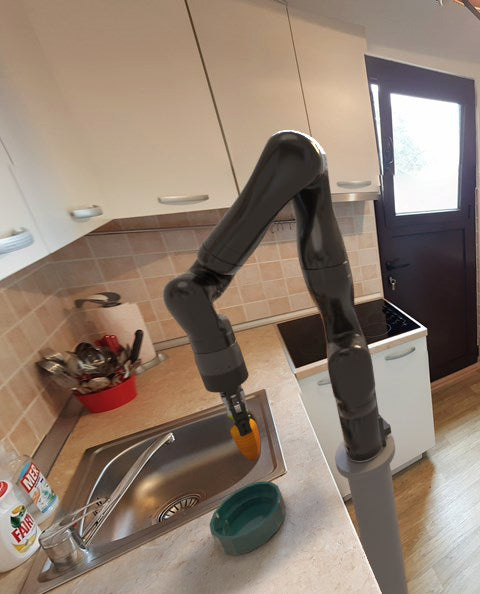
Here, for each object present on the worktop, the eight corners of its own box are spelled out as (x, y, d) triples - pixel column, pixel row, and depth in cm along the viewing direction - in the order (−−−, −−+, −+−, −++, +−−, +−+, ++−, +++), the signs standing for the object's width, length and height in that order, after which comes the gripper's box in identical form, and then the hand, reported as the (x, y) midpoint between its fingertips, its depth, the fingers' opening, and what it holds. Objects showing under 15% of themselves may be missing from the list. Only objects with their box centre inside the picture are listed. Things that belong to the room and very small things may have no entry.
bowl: (277, 488, 78) (272, 471, 76) (293, 526, 70) (287, 508, 68) (214, 524, 70) (206, 506, 68) (223, 571, 62) (214, 553, 60)
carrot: (237, 467, 77) (218, 416, 71) (255, 450, 81) (238, 401, 76) (254, 471, 76) (236, 420, 70) (272, 454, 80) (256, 405, 74)
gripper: (250, 371, 66) (270, 436, 72) (236, 344, 75) (255, 403, 82) (203, 387, 61) (229, 455, 67) (194, 356, 71) (218, 418, 77)
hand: (243, 426), depth 75 cm, fingers closed on carrot, 4 cm apart
